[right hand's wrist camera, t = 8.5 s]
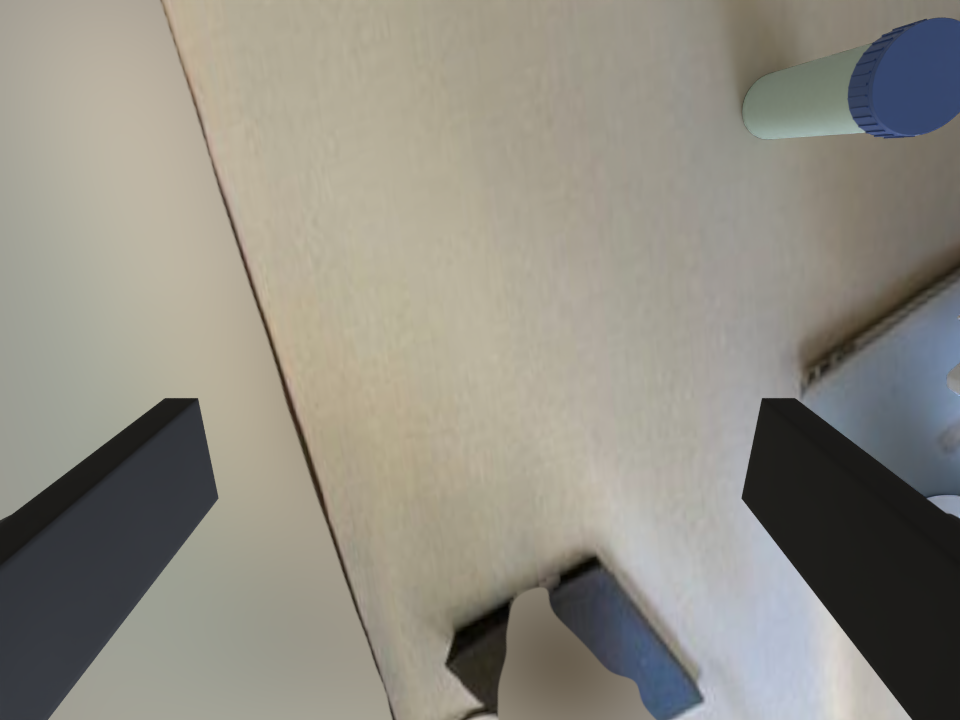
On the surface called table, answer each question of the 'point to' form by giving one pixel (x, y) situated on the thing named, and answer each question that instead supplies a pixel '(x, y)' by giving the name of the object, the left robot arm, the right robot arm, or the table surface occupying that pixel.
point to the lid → (908, 80)
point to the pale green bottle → (804, 99)
